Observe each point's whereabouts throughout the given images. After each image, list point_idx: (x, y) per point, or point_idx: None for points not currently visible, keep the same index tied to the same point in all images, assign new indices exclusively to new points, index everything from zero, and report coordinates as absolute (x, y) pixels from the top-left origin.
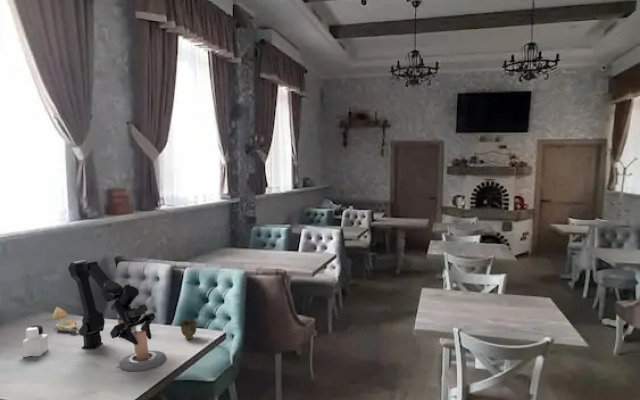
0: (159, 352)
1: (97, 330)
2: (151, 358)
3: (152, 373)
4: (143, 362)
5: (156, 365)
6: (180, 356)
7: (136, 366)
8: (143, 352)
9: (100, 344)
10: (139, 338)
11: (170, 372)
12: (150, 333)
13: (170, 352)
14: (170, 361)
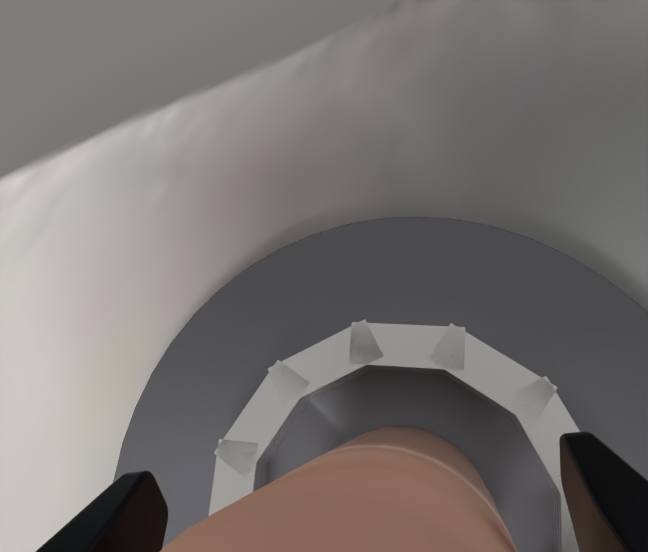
0: None
1: None
2: (355, 348)
3: (514, 116)
4: (486, 348)
5: (386, 222)
6: (85, 245)
7: (580, 387)
8: (417, 440)
9: None
10: (463, 512)
11: (383, 9)
12: (42, 550)
13: (52, 439)
14: (219, 223)
